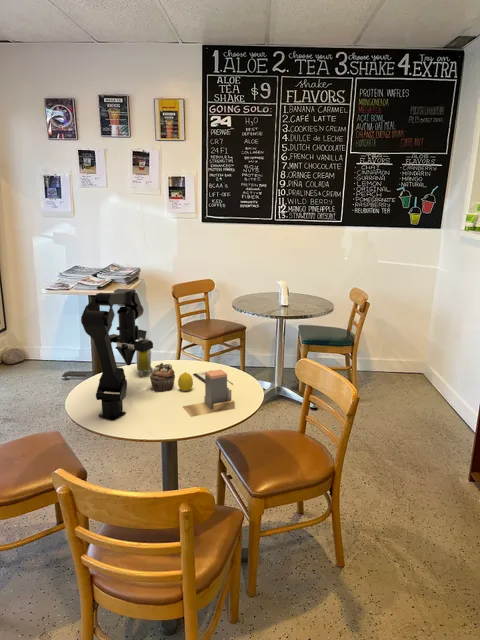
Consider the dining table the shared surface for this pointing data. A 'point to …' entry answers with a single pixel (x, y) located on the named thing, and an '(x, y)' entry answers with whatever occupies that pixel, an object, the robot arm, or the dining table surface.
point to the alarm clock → (143, 360)
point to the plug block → (215, 387)
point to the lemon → (185, 382)
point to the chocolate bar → (202, 376)
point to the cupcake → (162, 378)
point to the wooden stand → (204, 409)
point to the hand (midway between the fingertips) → (128, 365)
